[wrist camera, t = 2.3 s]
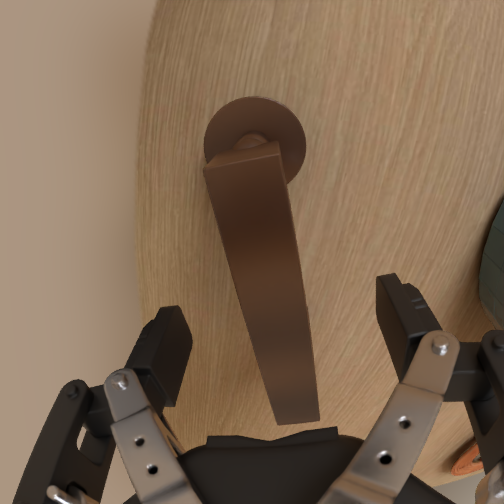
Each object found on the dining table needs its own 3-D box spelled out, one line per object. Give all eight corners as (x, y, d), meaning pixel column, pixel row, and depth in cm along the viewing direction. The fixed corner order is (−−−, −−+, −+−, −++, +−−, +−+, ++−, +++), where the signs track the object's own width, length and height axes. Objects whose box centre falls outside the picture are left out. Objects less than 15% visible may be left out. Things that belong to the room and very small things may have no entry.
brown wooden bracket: (205, 107, 17) (146, 118, 9) (291, 89, 16) (311, 80, 8) (260, 326, 24) (254, 427, 16) (326, 317, 23) (343, 417, 15)
